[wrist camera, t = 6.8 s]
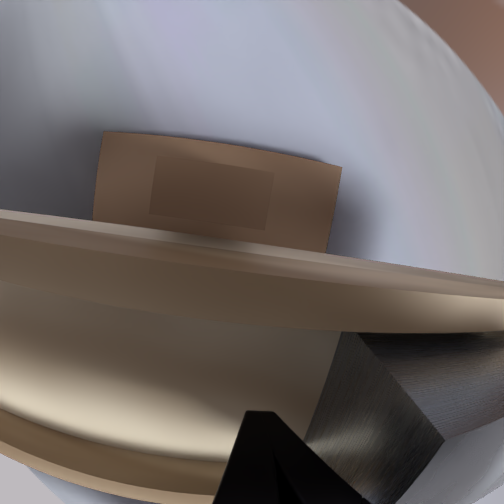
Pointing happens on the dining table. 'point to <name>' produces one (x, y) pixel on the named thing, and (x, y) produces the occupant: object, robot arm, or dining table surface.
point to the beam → (184, 344)
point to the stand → (215, 190)
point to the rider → (414, 416)
